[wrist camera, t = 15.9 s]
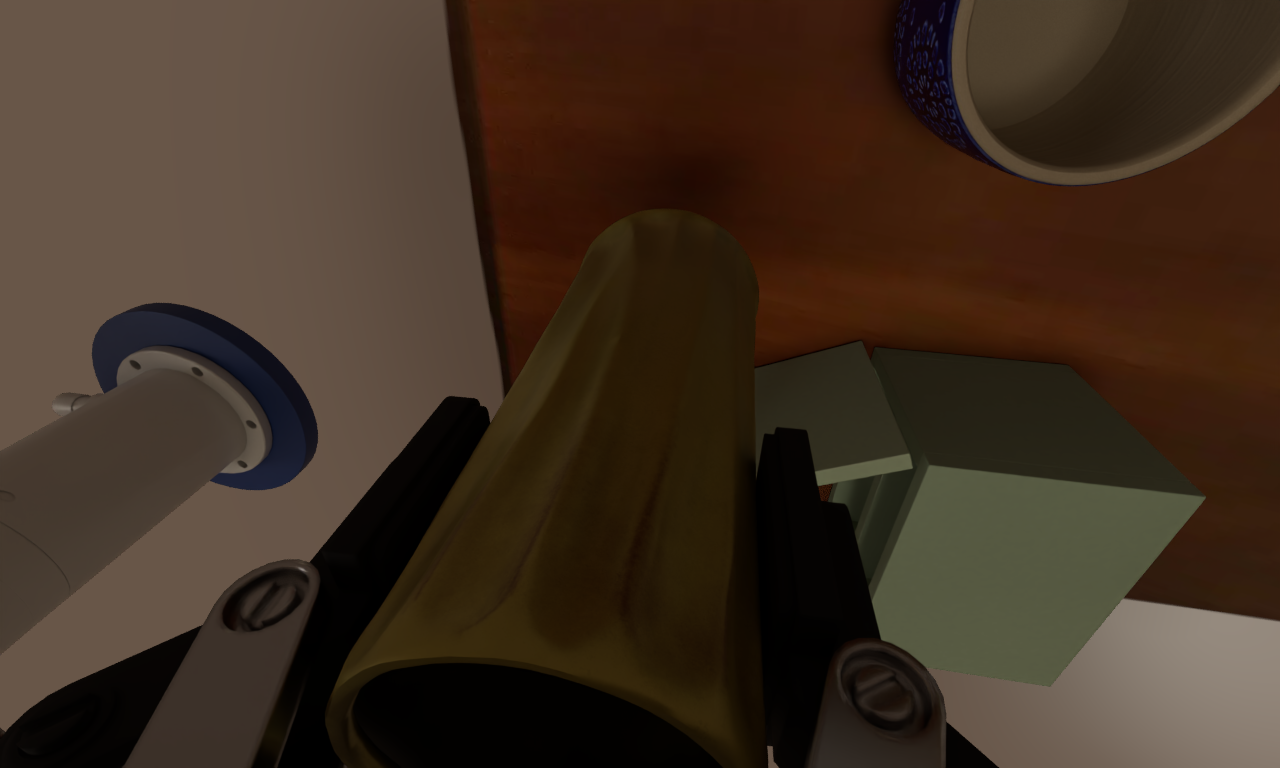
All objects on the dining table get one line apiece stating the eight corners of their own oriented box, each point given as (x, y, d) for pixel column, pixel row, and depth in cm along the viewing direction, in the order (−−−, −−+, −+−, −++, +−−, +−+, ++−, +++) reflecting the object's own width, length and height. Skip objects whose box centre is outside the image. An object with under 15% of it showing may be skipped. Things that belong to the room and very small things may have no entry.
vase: (570, 356, 20) (324, 821, 8) (587, 187, 17) (209, 553, 5) (731, 391, 20) (729, 923, 8) (782, 228, 16) (919, 722, 4)
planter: (1190, -127, 22) (1520, -252, 13) (1056, 154, 28) (1216, 207, 19) (920, -146, 23) (1047, -276, 14) (846, 130, 29) (899, 170, 20)
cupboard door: (606, 327, 38) (561, 427, 28) (842, 253, 32) (888, 343, 23) (644, 408, 41) (616, 523, 31) (864, 352, 36) (913, 469, 26)
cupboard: (822, 516, 44) (848, 655, 34) (874, 346, 35) (929, 465, 25) (976, 536, 43) (1050, 687, 33) (1068, 364, 34) (1207, 497, 24)
